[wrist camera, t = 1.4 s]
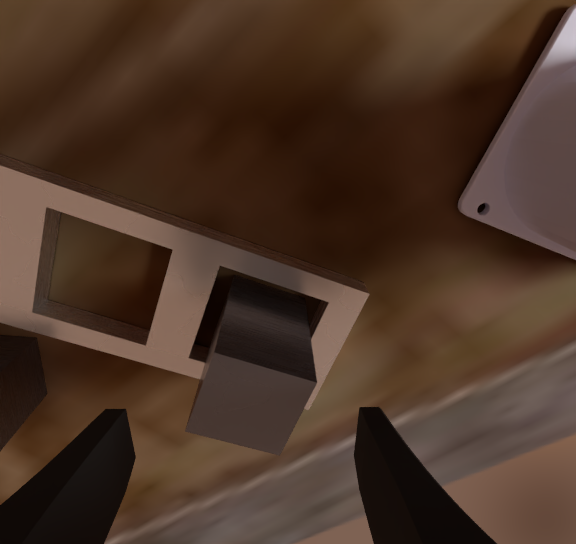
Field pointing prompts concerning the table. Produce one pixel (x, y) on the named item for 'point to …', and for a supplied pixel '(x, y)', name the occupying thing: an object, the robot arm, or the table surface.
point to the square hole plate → (177, 284)
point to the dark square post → (255, 369)
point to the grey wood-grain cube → (19, 383)
